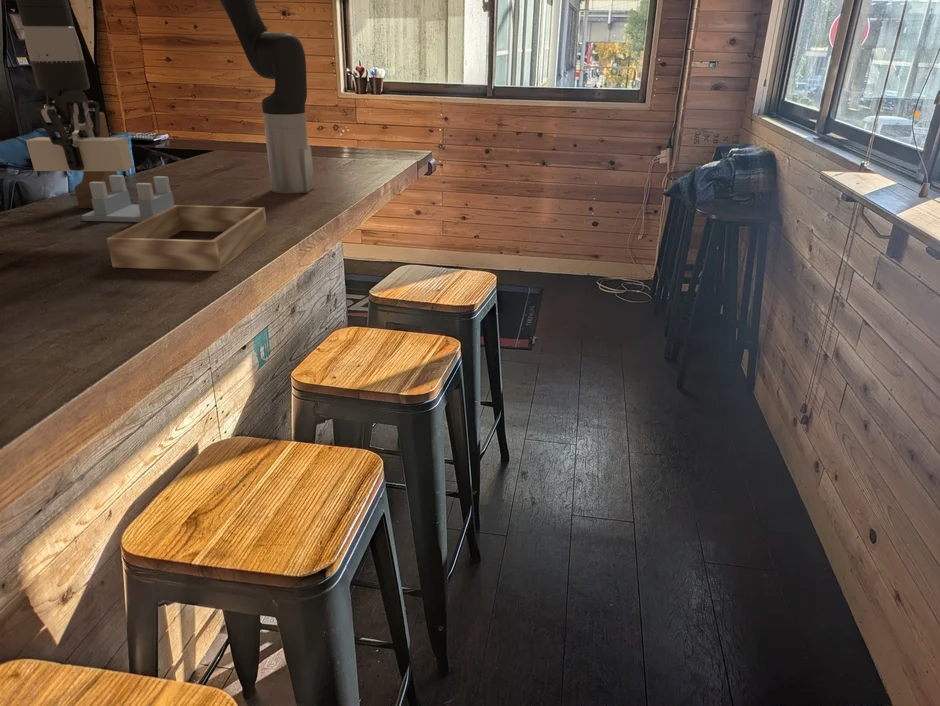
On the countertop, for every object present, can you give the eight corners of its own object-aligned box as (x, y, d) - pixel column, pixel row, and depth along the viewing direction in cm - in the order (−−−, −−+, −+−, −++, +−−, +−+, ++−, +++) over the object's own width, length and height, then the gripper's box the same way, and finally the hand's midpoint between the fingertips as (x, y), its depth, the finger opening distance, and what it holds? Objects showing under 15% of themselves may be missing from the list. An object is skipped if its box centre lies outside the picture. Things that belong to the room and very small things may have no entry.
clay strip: (132, 167, 114) (126, 137, 111) (123, 171, 110) (117, 140, 108) (45, 167, 113) (37, 137, 111) (34, 170, 110) (25, 140, 108)
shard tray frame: (267, 231, 119) (264, 207, 117) (219, 270, 99) (214, 242, 97) (179, 229, 120) (174, 205, 118) (112, 267, 100) (106, 238, 98)
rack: (187, 210, 133) (181, 175, 130) (164, 222, 124) (157, 185, 121) (111, 208, 133) (103, 173, 130) (82, 220, 124) (73, 183, 121)
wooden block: (99, 209, 133) (78, 116, 125) (78, 208, 133) (55, 115, 125) (123, 199, 141) (104, 111, 133) (103, 199, 141) (83, 111, 133)
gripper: (52, 60, 98) (81, 176, 105) (104, 56, 110) (127, 160, 118) (3, 59, 98) (36, 175, 106) (61, 56, 110) (86, 159, 118)
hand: (84, 166), depth 112 cm, fingers closed on clay strip, 3 cm apart
